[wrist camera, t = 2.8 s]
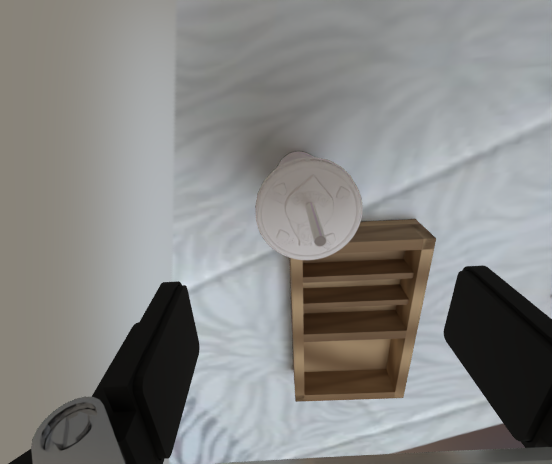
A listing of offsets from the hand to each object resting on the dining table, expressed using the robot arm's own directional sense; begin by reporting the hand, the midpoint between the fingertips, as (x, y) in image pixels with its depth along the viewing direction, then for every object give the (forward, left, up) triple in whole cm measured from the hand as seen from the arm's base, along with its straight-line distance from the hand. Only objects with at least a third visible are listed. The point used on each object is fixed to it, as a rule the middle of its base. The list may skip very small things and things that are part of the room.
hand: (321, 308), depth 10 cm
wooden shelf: (+15, +5, -18) cm, 24 cm away
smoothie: (0, 0, -18) cm, 18 cm away
